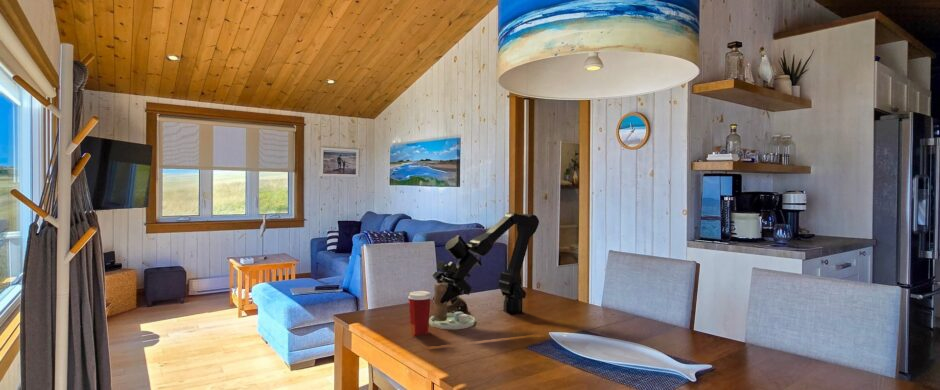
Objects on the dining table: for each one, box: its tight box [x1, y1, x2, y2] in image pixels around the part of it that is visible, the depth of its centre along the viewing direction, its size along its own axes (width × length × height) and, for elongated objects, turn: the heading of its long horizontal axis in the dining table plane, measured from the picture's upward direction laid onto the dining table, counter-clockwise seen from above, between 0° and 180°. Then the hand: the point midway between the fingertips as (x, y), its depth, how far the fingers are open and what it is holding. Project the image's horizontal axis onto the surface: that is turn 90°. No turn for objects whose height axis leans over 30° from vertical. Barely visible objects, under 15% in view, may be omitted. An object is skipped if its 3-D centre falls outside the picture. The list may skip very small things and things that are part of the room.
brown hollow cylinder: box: [447, 295, 469, 314], centre depth 193 cm, size 12×10×8 cm
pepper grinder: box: [433, 283, 448, 321], centre depth 176 cm, size 4×4×13 cm
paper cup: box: [407, 290, 432, 338], centre depth 166 cm, size 8×8×14 cm
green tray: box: [429, 312, 476, 330], centre depth 178 cm, size 16×16×2 cm
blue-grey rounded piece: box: [453, 311, 465, 321], centre depth 182 cm, size 4×4×2 cm
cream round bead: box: [459, 313, 470, 324], centre depth 178 cm, size 4×4×2 cm
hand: (437, 301), depth 175 cm, fingers closed on pepper grinder, 4 cm apart
